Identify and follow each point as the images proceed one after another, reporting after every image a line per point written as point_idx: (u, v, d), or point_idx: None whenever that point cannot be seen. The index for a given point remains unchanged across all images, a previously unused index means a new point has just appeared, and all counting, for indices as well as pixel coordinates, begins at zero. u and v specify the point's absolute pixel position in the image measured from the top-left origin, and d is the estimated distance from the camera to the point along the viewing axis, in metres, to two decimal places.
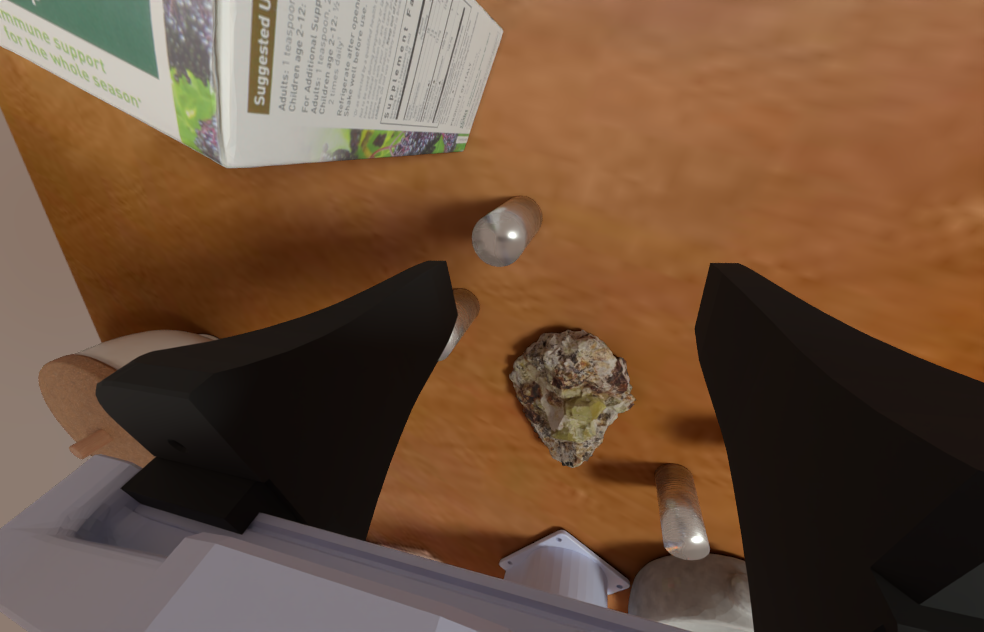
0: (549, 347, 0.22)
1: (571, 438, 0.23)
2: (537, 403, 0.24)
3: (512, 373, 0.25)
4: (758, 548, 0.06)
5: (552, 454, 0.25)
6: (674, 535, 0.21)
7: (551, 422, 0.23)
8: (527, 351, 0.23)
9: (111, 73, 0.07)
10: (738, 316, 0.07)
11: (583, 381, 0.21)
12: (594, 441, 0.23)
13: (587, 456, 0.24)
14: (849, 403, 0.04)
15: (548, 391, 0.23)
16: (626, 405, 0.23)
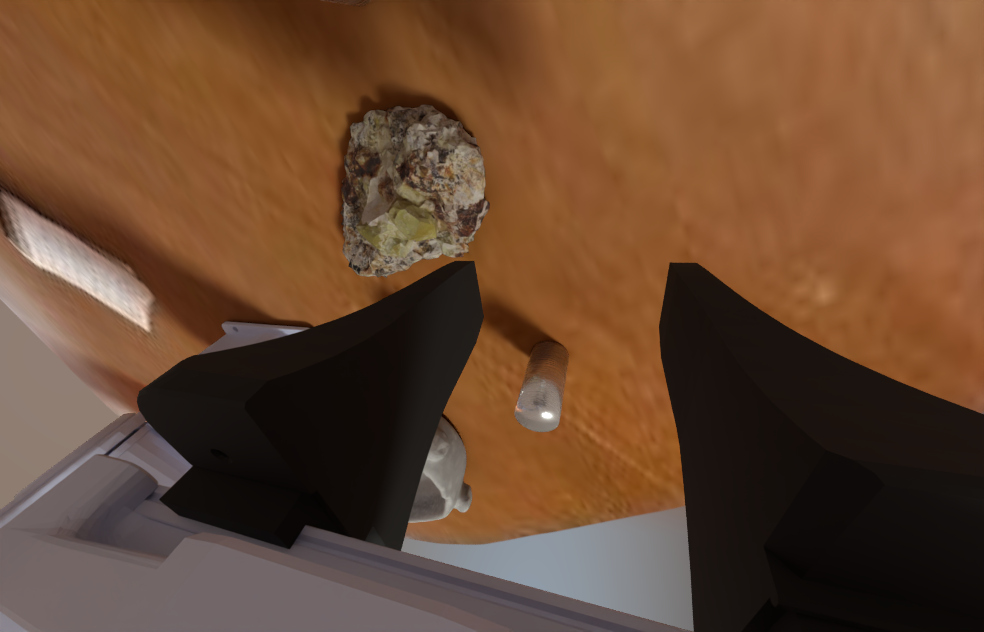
0: (424, 122, 0.15)
1: (377, 242, 0.18)
2: (364, 181, 0.18)
3: (357, 124, 0.17)
4: (697, 535, 0.06)
5: (344, 248, 0.20)
6: None
7: (366, 213, 0.18)
8: (394, 110, 0.16)
9: None
10: (687, 314, 0.07)
11: (434, 192, 0.16)
12: (398, 263, 0.19)
13: (381, 273, 0.20)
14: (754, 393, 0.04)
15: (387, 176, 0.17)
16: (455, 251, 0.19)
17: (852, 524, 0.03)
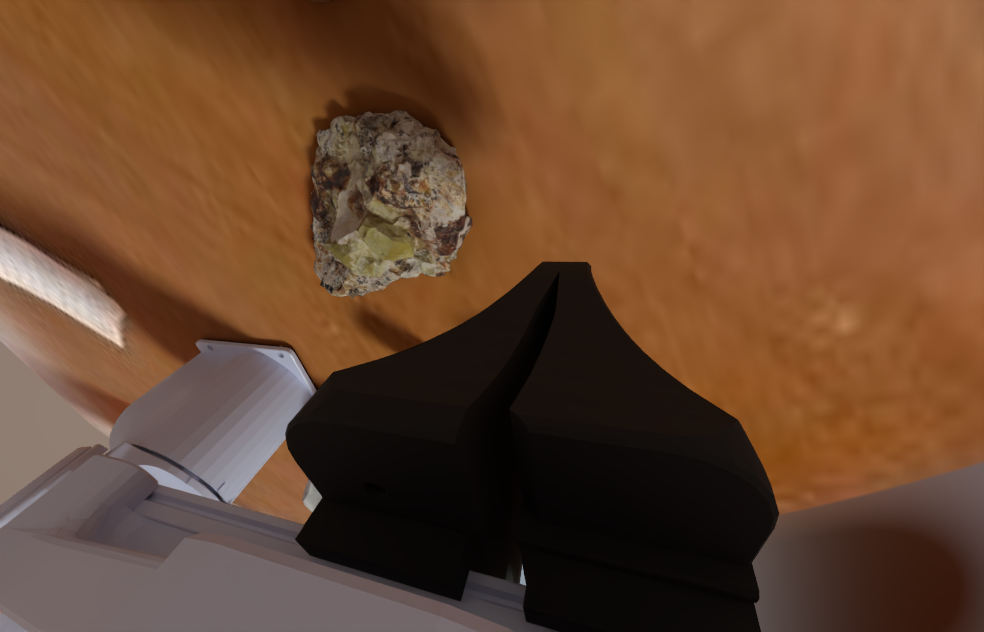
0: (396, 131, 0.14)
1: (348, 262, 0.16)
2: (333, 194, 0.16)
3: (324, 131, 0.15)
4: None
5: (316, 266, 0.19)
6: None
7: (335, 229, 0.16)
8: (364, 116, 0.14)
9: None
10: None
11: (408, 208, 0.15)
12: (373, 283, 0.18)
13: (355, 293, 0.18)
14: (535, 372, 0.05)
15: (357, 189, 0.15)
16: (436, 270, 0.18)
17: (534, 467, 0.04)
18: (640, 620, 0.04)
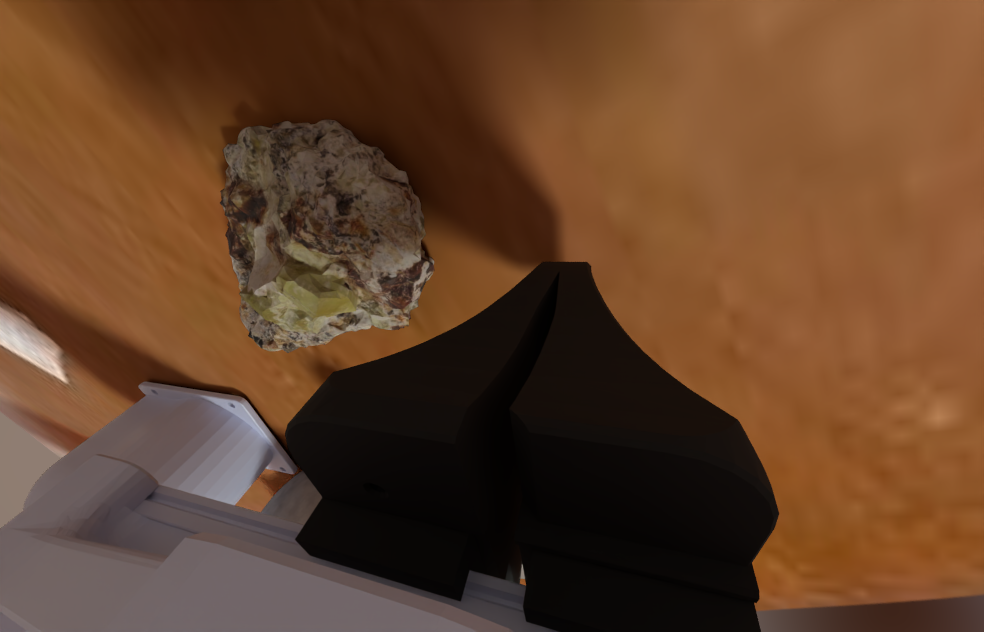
0: (317, 150, 0.10)
1: (270, 317, 0.12)
2: (248, 230, 0.12)
3: (233, 146, 0.11)
4: None
5: (241, 313, 0.15)
6: None
7: (254, 274, 0.12)
8: (281, 127, 0.11)
9: None
10: None
11: (341, 253, 0.11)
12: (311, 339, 0.14)
13: (291, 348, 0.15)
14: (535, 372, 0.05)
15: (275, 225, 0.11)
16: (390, 324, 0.14)
17: (534, 467, 0.04)
18: (640, 620, 0.04)
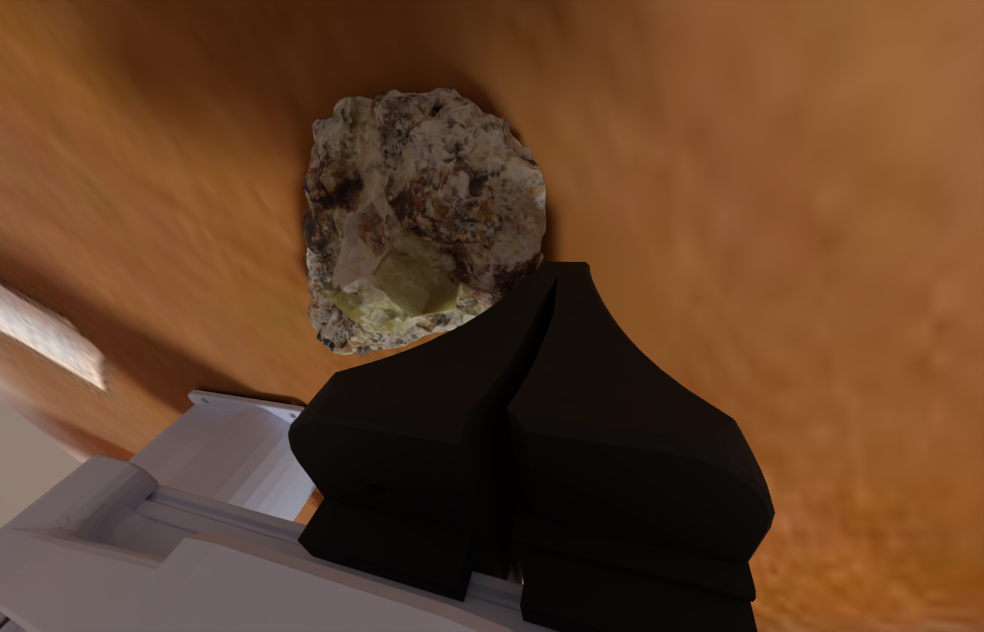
0: (442, 120, 0.08)
1: (357, 317, 0.11)
2: (336, 217, 0.10)
3: (324, 121, 0.10)
4: None
5: (310, 313, 0.13)
6: None
7: (340, 268, 0.11)
8: (388, 97, 0.09)
9: None
10: None
11: (455, 242, 0.09)
12: (393, 341, 0.12)
13: (366, 352, 0.13)
14: (533, 372, 0.05)
15: (374, 210, 0.10)
16: None
17: (531, 467, 0.04)
18: (637, 619, 0.04)
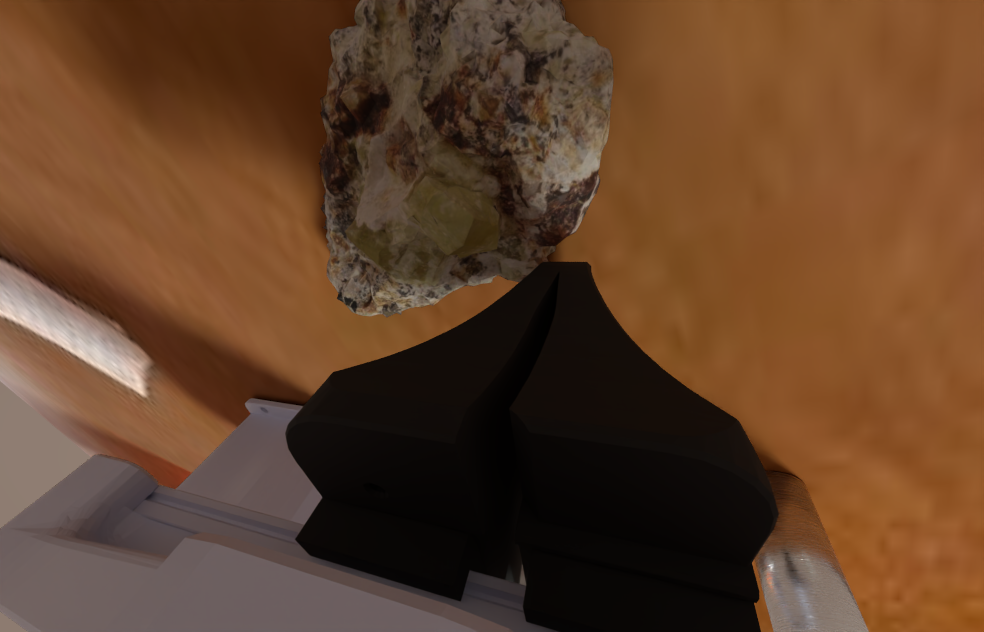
0: None
1: (386, 261, 0.10)
2: (359, 144, 0.09)
3: (344, 30, 0.09)
4: None
5: (330, 270, 0.12)
6: None
7: (364, 205, 0.10)
8: None
9: None
10: None
11: (502, 156, 0.08)
12: (423, 295, 0.11)
13: (392, 310, 0.12)
14: (535, 372, 0.05)
15: (404, 128, 0.08)
16: (524, 272, 0.11)
17: (535, 467, 0.04)
18: (640, 620, 0.04)
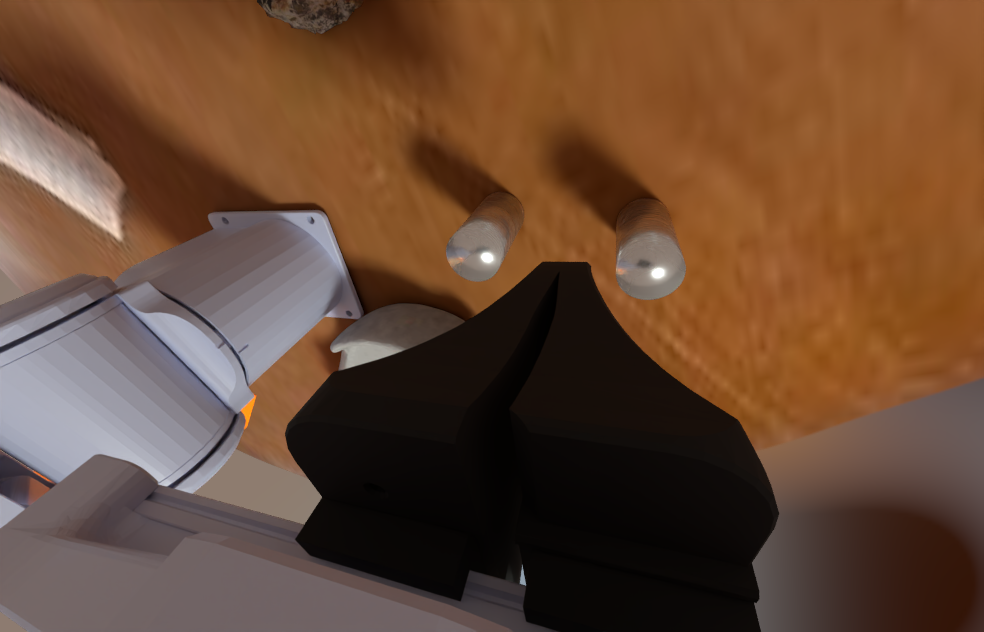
0: None
1: None
2: None
3: None
4: None
5: None
6: (472, 233, 0.15)
7: None
8: None
9: None
10: None
11: None
12: None
13: (300, 4, 0.14)
14: (535, 371, 0.05)
15: None
16: None
17: (535, 468, 0.04)
18: (640, 620, 0.04)
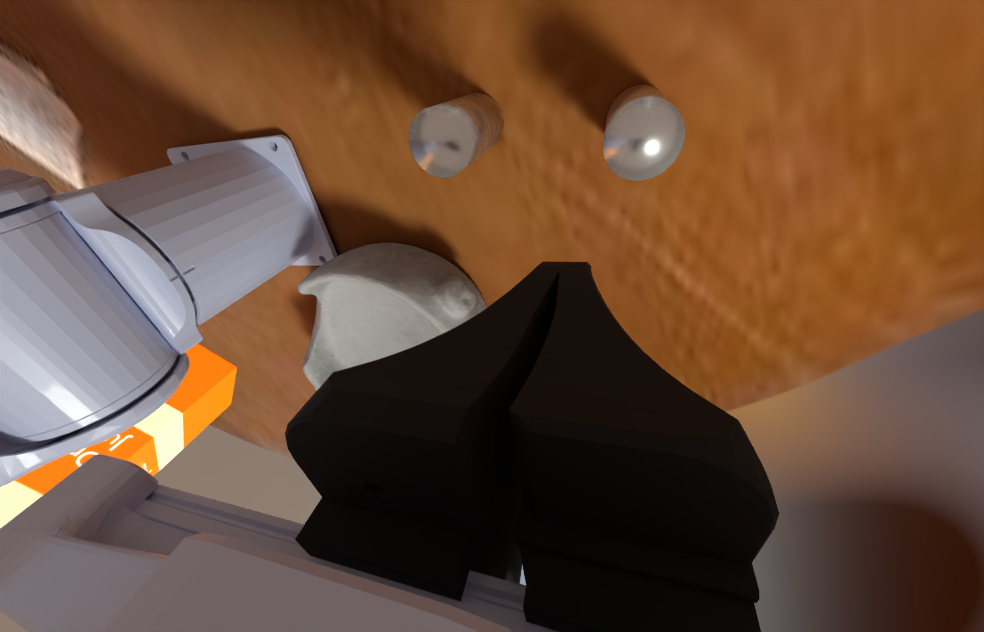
0: None
1: None
2: None
3: None
4: None
5: None
6: (435, 111, 0.13)
7: None
8: None
9: None
10: None
11: None
12: None
13: None
14: (535, 372, 0.05)
15: None
16: None
17: (534, 467, 0.04)
18: (640, 620, 0.04)
